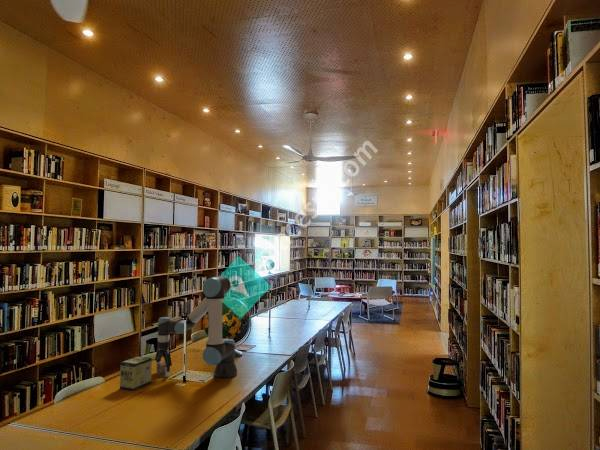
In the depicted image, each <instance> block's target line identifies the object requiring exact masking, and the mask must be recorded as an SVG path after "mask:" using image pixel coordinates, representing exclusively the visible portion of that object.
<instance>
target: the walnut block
mask: <svg viewBox="0 0 600 450" xmlns="http://www.w3.org/2000/svg"><path fill="white" fill-rule="evenodd" d="M165 366H166V364H165V361H164V362H161V363H158V364H157V372H156V375H157V376H158V377H165Z"/></svg>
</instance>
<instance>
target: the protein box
mask: <svg viewBox="0 0 600 450" xmlns="http://www.w3.org/2000/svg"><path fill="white" fill-rule="evenodd" d="M152 360H153V359H152V358H151V357H146V356H136V357H133V358H130V359H127V360H124V361H121V362H120V370H119V371H120V372H119V389H120V390H124V391H131V392H132V391H133V392H134V391H137V390H139V389H142V388H144V387H146V386H149V385H150V384H152V362H153V361H152Z"/></svg>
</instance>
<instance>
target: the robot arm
mask: <svg viewBox="0 0 600 450" xmlns="http://www.w3.org/2000/svg"><path fill="white" fill-rule="evenodd" d="M231 286H232V283H231V281H230V279H229V278H228V277H226V276H223V275H221V276H213V277H209V278H207V279H206V280H204V282H203V284H202V293H203V294H204V296H205V297H204V298H203V299H202V301H200V303H199V304H197V306H196V307H194V308H193V310H192V311H191V312H190V313H189V314H188V315H187V316H186V318H187V319H186V318H184V319H186V331H189V330H192V329H194V328H195V327H196V326H197V323H198V322H199V321H200V320H201V319H203V318H202V317H203V316H205V314H206V313H207V312H208V315H207V317H208V319H207V321H208V323H207V324H208V327H207V328H208V329H207V331H208V332H207V333H208V339H207V341H206V342H205V348H204V350H203V351H202V359H203V361H204V362H205V363H206V365H208V366H214V370H213V376H214V377H216V378H220V379H226V378H233V377H236V376H237V375H238V369H237V366H236V362H235V355H236V354H235V351H236V344H235V342H236V341H235V340H234V339H232V338H223V301H224V299H225V296H226V294H228V293H229V291H230V290H231ZM184 319H180V320H177V321H176V320H171V317H169V316H162V317H159V318H158V320H157V348H156V353H155V357H154V361H155V362H156V365H155V366H156V367H155V368H156V371H155V372H156V373H157V364H158V363H162V358H163V359H164V362H165V364H166V366H165V376H164V377H165V378H167V377H171V375H170V374H171V373H170V372H171V367H172V366H173V363H172V358H171V350H170V349H168V348H169V347H170V345H171V344H170V338H171V334H179V335H180V334H181V335H182V334H185V333H184Z"/></svg>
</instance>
